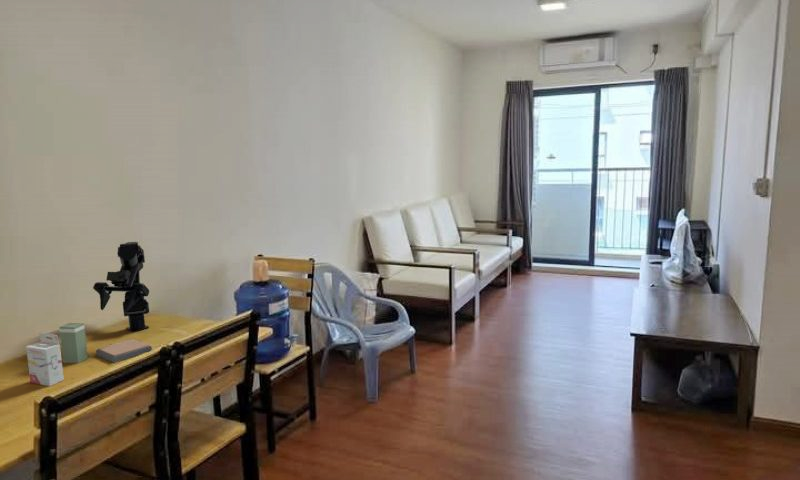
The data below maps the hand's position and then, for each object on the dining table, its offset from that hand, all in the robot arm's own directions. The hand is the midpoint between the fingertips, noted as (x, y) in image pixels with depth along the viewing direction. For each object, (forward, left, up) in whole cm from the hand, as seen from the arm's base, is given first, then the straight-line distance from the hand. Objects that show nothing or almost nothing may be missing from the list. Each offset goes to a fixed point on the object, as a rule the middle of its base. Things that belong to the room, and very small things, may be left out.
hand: (113, 310), depth 191 cm
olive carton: (+3, -15, -13) cm, 21 cm away
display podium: (+10, -2, -13) cm, 17 cm away
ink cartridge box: (+15, -28, -14) cm, 35 cm away
